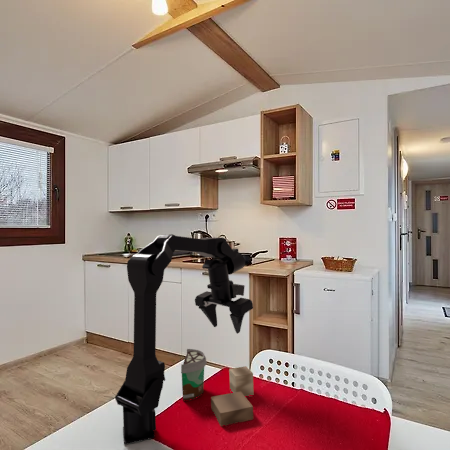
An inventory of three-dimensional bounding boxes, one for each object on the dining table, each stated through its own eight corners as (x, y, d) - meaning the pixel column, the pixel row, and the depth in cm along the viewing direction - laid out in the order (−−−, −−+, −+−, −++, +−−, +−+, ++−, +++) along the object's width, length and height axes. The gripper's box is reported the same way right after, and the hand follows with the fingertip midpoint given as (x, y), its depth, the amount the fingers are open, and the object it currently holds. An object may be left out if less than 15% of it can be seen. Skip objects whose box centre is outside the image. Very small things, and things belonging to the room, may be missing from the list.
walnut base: (220, 426, 79) (220, 413, 79) (211, 409, 87) (210, 397, 87) (253, 419, 82) (252, 406, 82) (241, 402, 89) (240, 391, 89)
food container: (205, 403, 90) (204, 364, 90) (182, 404, 90) (180, 365, 90) (209, 381, 102) (208, 347, 102) (188, 382, 102) (187, 348, 102)
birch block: (236, 399, 92) (235, 376, 92) (229, 390, 96) (229, 369, 96) (253, 395, 93) (252, 373, 93) (246, 387, 98) (246, 366, 98)
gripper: (261, 274, 101) (267, 324, 103) (215, 268, 114) (222, 313, 116) (236, 286, 93) (244, 341, 95) (190, 279, 106) (198, 327, 108)
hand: (226, 329), depth 104 cm, fingers open, 9 cm apart
